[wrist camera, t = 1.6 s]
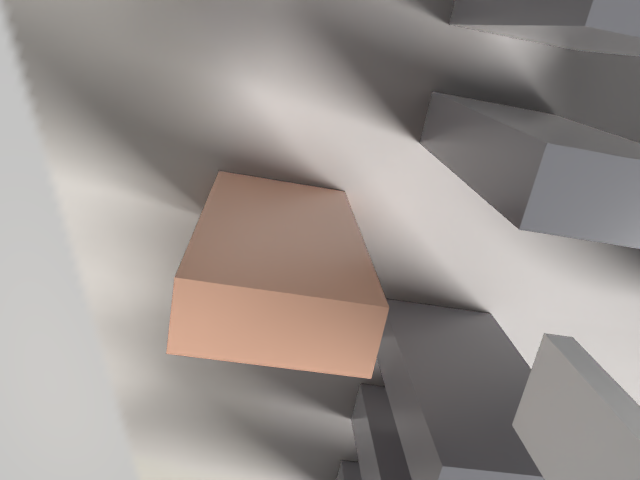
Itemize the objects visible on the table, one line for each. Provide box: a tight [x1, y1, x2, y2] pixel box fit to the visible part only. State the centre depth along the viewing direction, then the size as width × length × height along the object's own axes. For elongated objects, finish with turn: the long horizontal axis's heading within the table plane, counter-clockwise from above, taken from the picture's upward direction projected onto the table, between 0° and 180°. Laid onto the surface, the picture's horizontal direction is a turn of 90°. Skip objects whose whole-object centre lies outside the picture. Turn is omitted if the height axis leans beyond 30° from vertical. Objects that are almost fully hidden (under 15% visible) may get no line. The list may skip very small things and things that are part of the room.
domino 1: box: [166, 171, 389, 379], centre depth 18 cm, size 2×5×10 cm, turn 80°
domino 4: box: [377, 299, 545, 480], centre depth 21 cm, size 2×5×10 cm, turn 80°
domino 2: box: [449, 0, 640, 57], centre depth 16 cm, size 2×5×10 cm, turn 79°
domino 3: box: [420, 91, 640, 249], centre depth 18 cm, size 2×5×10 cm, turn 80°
